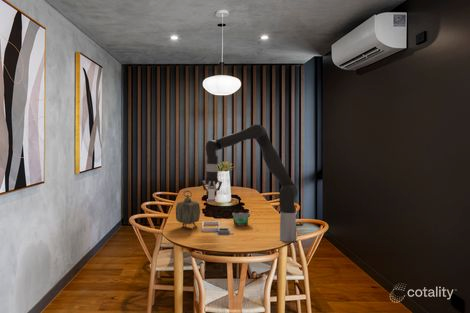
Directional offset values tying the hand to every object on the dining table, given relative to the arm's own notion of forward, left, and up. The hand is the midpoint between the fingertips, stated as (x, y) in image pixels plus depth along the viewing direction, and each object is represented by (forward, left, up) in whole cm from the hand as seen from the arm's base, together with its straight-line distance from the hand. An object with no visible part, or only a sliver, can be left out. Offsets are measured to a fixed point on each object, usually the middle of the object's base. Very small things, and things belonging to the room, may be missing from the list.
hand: (211, 196), depth 223 cm
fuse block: (-8, +11, -22) cm, 26 cm away
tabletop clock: (+16, -5, -22) cm, 28 cm away
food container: (-21, -6, -23) cm, 31 cm away
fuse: (0, 0, -3) cm, 3 cm away
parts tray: (0, -1, -22) cm, 22 cm away
